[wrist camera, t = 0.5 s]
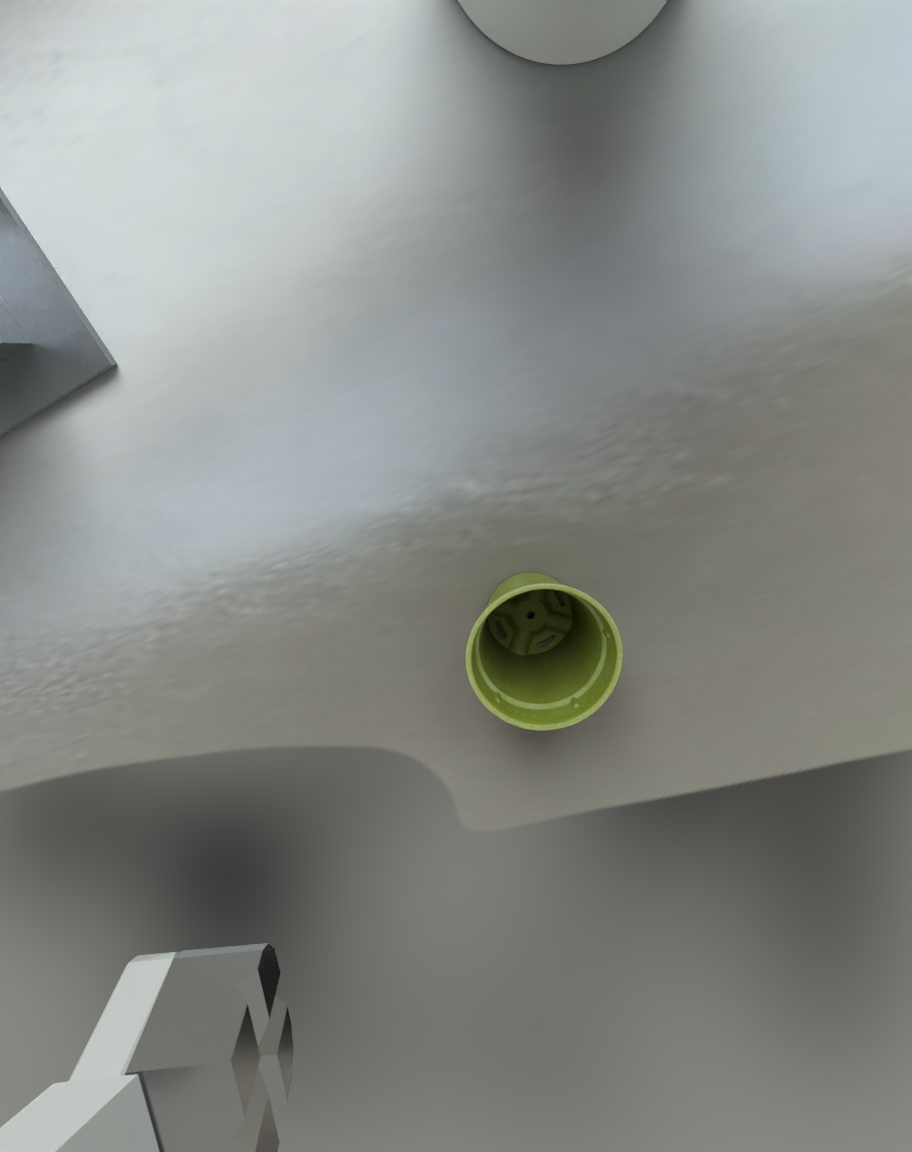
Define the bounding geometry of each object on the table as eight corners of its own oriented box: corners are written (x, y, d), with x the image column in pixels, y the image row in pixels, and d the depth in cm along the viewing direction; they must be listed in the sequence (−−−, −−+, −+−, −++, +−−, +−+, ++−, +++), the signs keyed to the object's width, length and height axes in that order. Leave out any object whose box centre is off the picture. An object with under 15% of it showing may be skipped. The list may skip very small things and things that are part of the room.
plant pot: (505, 699, 58) (517, 757, 50) (435, 593, 56) (436, 636, 48) (619, 633, 57) (650, 682, 49) (552, 523, 55) (573, 554, 46)
